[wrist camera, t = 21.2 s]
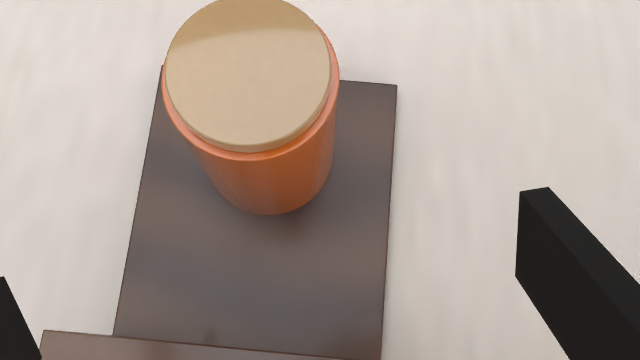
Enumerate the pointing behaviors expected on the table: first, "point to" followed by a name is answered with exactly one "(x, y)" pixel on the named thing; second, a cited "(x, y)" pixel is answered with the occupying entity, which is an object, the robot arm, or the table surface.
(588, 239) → the robot arm
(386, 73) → the table surface
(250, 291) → the brown wooden step stand
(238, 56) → the canister
